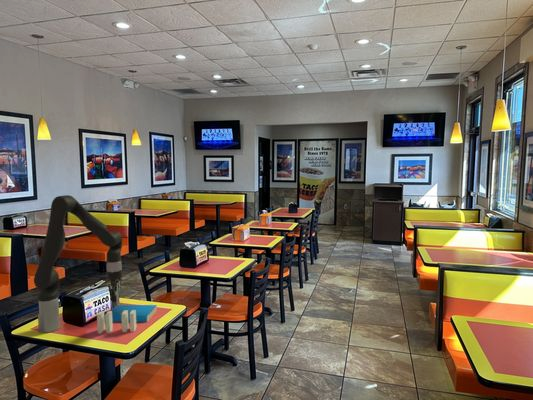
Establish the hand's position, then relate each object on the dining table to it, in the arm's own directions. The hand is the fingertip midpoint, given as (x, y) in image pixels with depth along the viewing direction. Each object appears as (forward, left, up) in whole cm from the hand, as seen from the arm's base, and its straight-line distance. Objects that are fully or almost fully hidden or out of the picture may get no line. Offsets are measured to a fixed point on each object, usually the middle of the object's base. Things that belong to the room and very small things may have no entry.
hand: (115, 300), depth 200 cm
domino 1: (-8, 0, -17) cm, 19 cm away
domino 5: (+8, 0, -17) cm, 19 cm away
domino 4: (+4, 0, -17) cm, 17 cm away
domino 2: (-4, 0, -17) cm, 17 cm away
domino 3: (0, 0, -2) cm, 2 cm away
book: (+2, +19, -18) cm, 26 cm away
